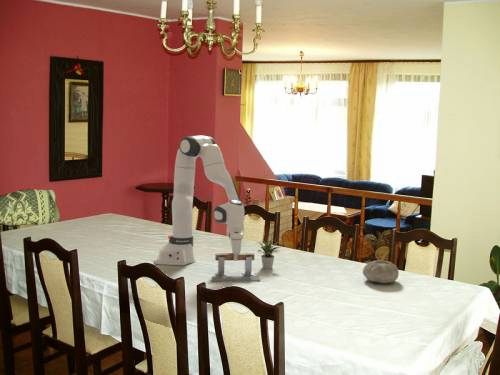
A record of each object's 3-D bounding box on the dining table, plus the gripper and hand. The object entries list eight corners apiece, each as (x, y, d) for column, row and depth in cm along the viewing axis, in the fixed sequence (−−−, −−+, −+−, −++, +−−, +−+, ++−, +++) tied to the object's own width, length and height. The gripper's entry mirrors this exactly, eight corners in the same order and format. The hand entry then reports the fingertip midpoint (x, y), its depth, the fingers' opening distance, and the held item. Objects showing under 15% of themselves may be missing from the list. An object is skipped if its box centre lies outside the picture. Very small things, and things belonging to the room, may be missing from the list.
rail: (215, 260, 306) (215, 254, 306) (215, 258, 309) (215, 253, 309) (254, 260, 308) (254, 254, 308) (253, 258, 311) (253, 253, 311)
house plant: (260, 272, 314) (261, 242, 312) (248, 265, 326) (249, 236, 324) (283, 269, 321) (284, 239, 318) (271, 263, 333) (272, 234, 331)
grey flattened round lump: (391, 289, 292) (392, 269, 290) (357, 282, 301) (357, 263, 299) (402, 280, 307) (404, 261, 305) (369, 274, 316) (370, 255, 314)
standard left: (216, 276, 306) (216, 257, 304) (215, 272, 312) (216, 254, 311) (226, 276, 306) (226, 257, 305) (225, 272, 313) (225, 254, 311)
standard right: (243, 276, 307) (244, 257, 306) (242, 272, 314) (243, 254, 312) (253, 276, 308) (253, 257, 306) (252, 272, 314) (252, 254, 313)
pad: (212, 281, 297) (212, 280, 297) (211, 277, 304) (211, 276, 304) (260, 281, 300) (260, 279, 300) (258, 276, 307) (258, 275, 307)
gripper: (227, 227, 316) (227, 253, 319) (230, 236, 296) (230, 263, 298) (239, 227, 317) (239, 253, 319) (243, 236, 297) (242, 263, 299)
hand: (234, 258), depth 309 cm, fingers open, 7 cm apart
